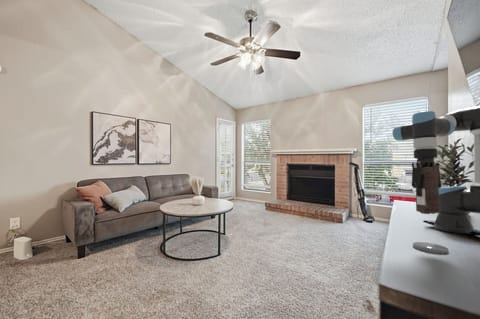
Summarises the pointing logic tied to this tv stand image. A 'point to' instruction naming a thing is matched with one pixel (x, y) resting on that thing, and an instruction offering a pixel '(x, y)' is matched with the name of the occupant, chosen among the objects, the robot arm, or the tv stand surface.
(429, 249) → the coaster
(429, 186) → the candle
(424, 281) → the tv stand surface
